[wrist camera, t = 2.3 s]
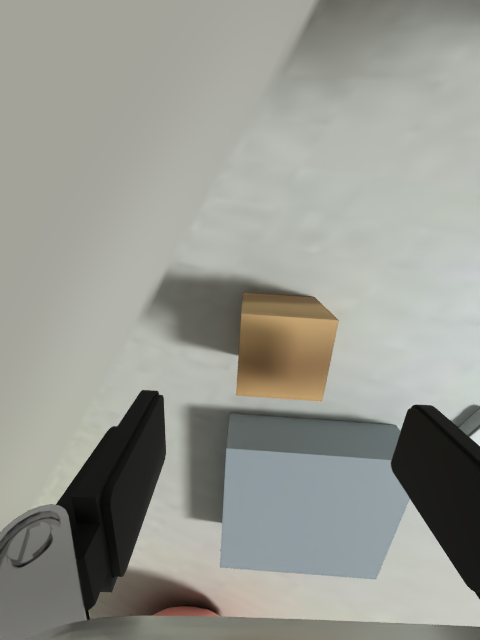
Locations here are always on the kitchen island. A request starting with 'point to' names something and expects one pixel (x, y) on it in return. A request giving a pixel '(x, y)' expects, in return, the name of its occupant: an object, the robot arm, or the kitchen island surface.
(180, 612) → the cell model
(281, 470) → the slate base
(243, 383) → the amber block
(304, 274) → the kitchen island surface
